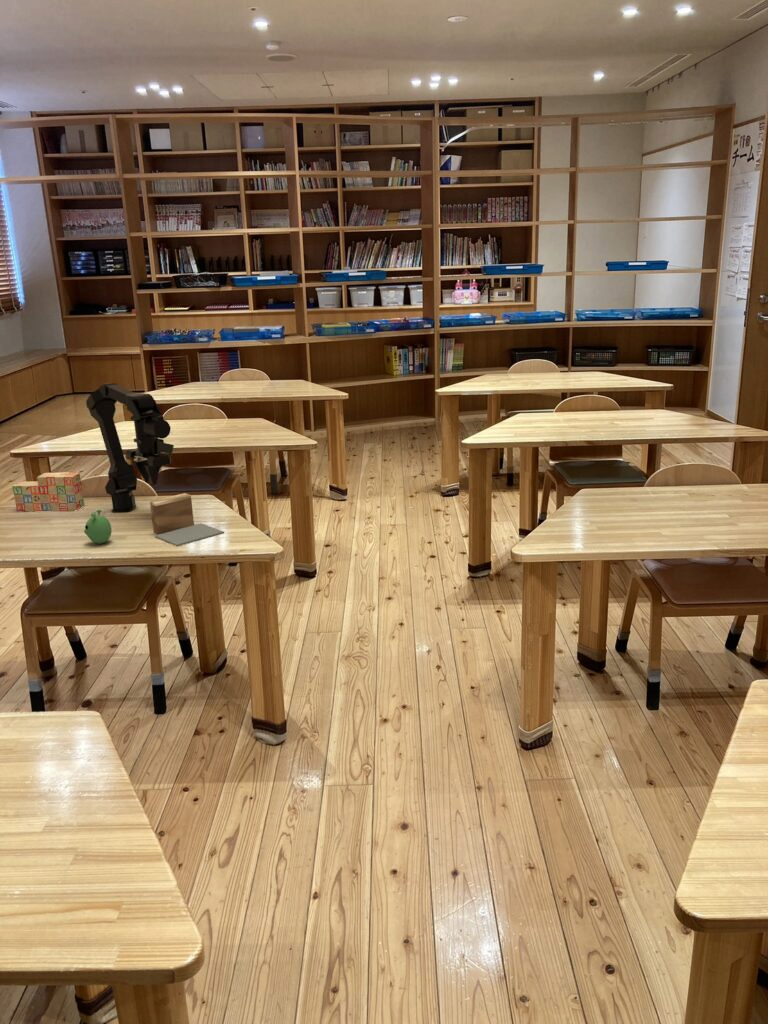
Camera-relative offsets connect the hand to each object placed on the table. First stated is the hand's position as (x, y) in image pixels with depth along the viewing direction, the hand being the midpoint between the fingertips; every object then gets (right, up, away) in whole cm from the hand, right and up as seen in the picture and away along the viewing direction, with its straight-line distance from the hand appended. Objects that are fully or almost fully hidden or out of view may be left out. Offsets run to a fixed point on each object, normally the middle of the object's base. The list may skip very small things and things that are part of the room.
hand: (151, 483), depth 257 cm
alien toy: (-10, -18, -18) cm, 28 cm away
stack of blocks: (-40, -8, +20) cm, 46 cm away
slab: (+9, -14, -7) cm, 19 cm away
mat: (+16, -16, -14) cm, 26 cm away
